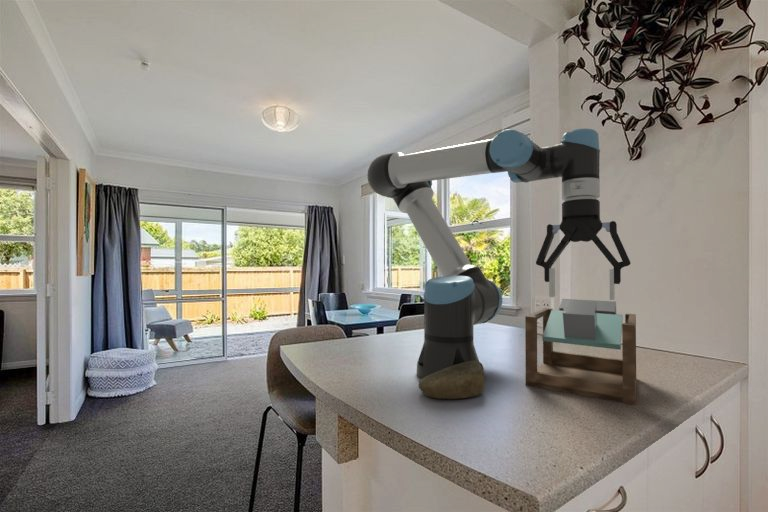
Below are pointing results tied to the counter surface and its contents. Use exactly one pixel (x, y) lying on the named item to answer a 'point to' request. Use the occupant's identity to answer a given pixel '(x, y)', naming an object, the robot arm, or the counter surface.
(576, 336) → the gray cube
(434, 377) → the stone
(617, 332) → the trapdoor
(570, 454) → the counter surface
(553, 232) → the robot arm
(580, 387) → the frame
